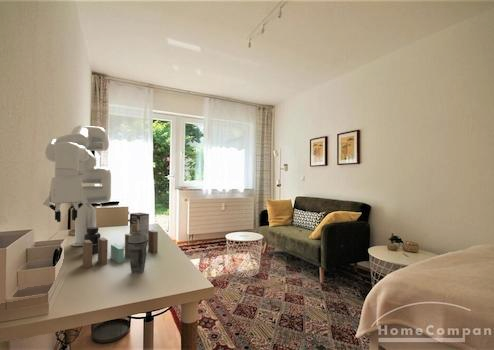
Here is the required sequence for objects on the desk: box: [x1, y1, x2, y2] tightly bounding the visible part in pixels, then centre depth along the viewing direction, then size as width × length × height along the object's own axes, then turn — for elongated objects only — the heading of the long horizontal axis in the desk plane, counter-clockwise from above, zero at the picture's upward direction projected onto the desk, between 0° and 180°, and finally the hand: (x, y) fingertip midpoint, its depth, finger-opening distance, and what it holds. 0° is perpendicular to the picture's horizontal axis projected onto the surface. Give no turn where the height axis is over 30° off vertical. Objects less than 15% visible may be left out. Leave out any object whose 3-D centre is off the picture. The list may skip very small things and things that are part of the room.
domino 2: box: [97, 237, 109, 266], centre depth 102 cm, size 6×2×10 cm, turn 46°
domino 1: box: [82, 240, 93, 269], centre depth 98 cm, size 6×2×10 cm, turn 46°
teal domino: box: [110, 243, 125, 264], centre depth 105 cm, size 6×2×10 cm
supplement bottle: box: [84, 226, 101, 255], centre depth 115 cm, size 7×7×12 cm
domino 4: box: [147, 229, 159, 254], centre depth 117 cm, size 6×2×10 cm, turn 46°
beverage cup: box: [128, 219, 148, 275], centre depth 92 cm, size 7×7×20 cm
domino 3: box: [124, 232, 131, 260], centre depth 110 cm, size 6×2×10 cm, turn 46°
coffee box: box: [129, 212, 150, 237], centre depth 135 cm, size 9×6×16 cm
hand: (66, 220), depth 93 cm, fingers open, 4 cm apart
